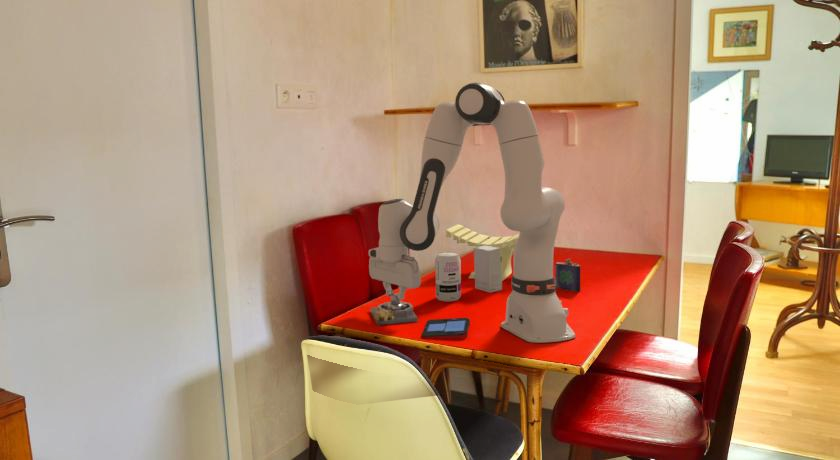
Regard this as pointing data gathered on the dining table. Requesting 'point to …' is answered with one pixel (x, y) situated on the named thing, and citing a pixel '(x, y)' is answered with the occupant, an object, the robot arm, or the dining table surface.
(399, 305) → the planet gear
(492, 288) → the skincare box
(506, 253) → the slatted curved stool
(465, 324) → the game console
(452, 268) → the supplement can
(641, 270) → the dining table surface
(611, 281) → the dining table surface
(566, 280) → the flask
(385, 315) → the carrier board
